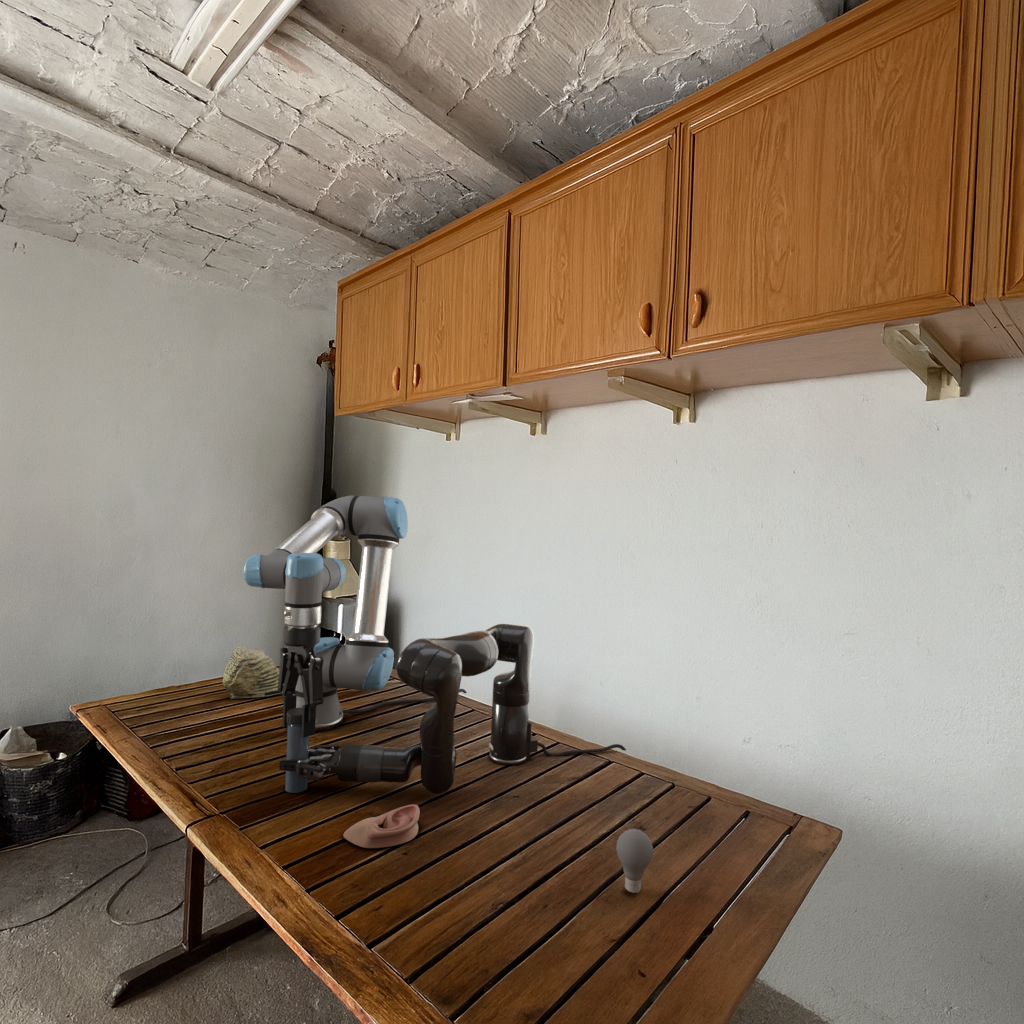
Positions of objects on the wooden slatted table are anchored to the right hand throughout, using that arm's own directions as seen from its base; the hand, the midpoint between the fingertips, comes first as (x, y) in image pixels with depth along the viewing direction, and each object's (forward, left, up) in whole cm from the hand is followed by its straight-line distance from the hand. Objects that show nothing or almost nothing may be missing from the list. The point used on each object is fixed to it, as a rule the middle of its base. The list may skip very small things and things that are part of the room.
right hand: (285, 759), depth 137 cm
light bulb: (-50, +58, -6) cm, 77 cm away
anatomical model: (-15, +26, -6) cm, 31 cm away
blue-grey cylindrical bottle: (-2, +1, -6) cm, 7 cm away
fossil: (+3, -68, -6) cm, 69 cm away
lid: (-2, +1, +10) cm, 11 cm away
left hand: (-2, +1, +7) cm, 7 cm away
